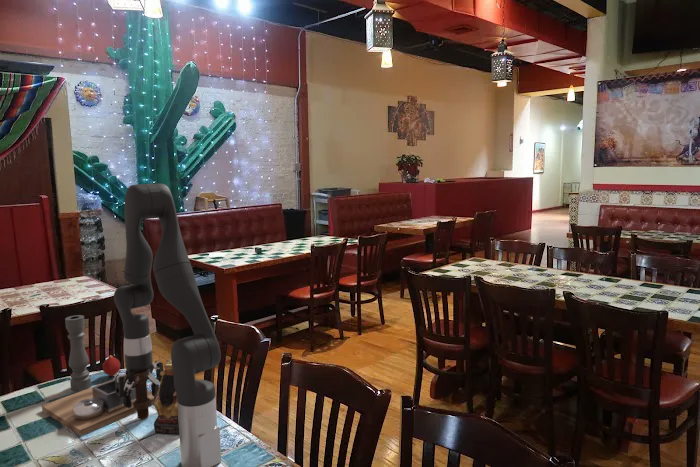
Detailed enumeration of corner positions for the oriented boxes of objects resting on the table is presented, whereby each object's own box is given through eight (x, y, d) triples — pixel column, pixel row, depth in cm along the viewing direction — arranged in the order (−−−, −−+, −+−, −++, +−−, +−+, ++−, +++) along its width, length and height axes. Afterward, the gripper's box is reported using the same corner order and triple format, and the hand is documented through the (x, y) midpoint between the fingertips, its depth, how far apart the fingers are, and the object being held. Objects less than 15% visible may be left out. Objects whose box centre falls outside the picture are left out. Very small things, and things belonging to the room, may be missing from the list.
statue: (149, 434, 137) (144, 367, 134) (166, 420, 145) (161, 356, 142) (187, 438, 134) (182, 370, 132) (203, 424, 142) (198, 359, 139)
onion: (103, 374, 177) (102, 353, 176) (121, 371, 180) (119, 351, 178) (103, 380, 172) (101, 359, 171) (121, 377, 174) (119, 356, 173)
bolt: (144, 423, 143) (141, 374, 141) (129, 421, 144) (125, 373, 142) (156, 413, 148) (153, 366, 146) (141, 411, 149) (138, 365, 147)
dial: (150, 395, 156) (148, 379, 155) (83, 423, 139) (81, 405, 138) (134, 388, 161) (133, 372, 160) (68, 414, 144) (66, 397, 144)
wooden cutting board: (160, 401, 156) (160, 395, 156) (80, 436, 136) (80, 429, 136) (119, 381, 171) (119, 376, 171) (42, 411, 151) (41, 405, 151)
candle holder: (67, 389, 166) (60, 319, 162) (84, 382, 171) (77, 313, 168) (78, 392, 163) (71, 321, 159) (95, 385, 168) (89, 316, 165)
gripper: (121, 360, 135) (126, 415, 137) (166, 345, 147) (170, 395, 149) (107, 354, 140) (112, 407, 142) (152, 340, 151) (156, 389, 153)
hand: (142, 401), depth 145 cm, fingers open, 8 cm apart
